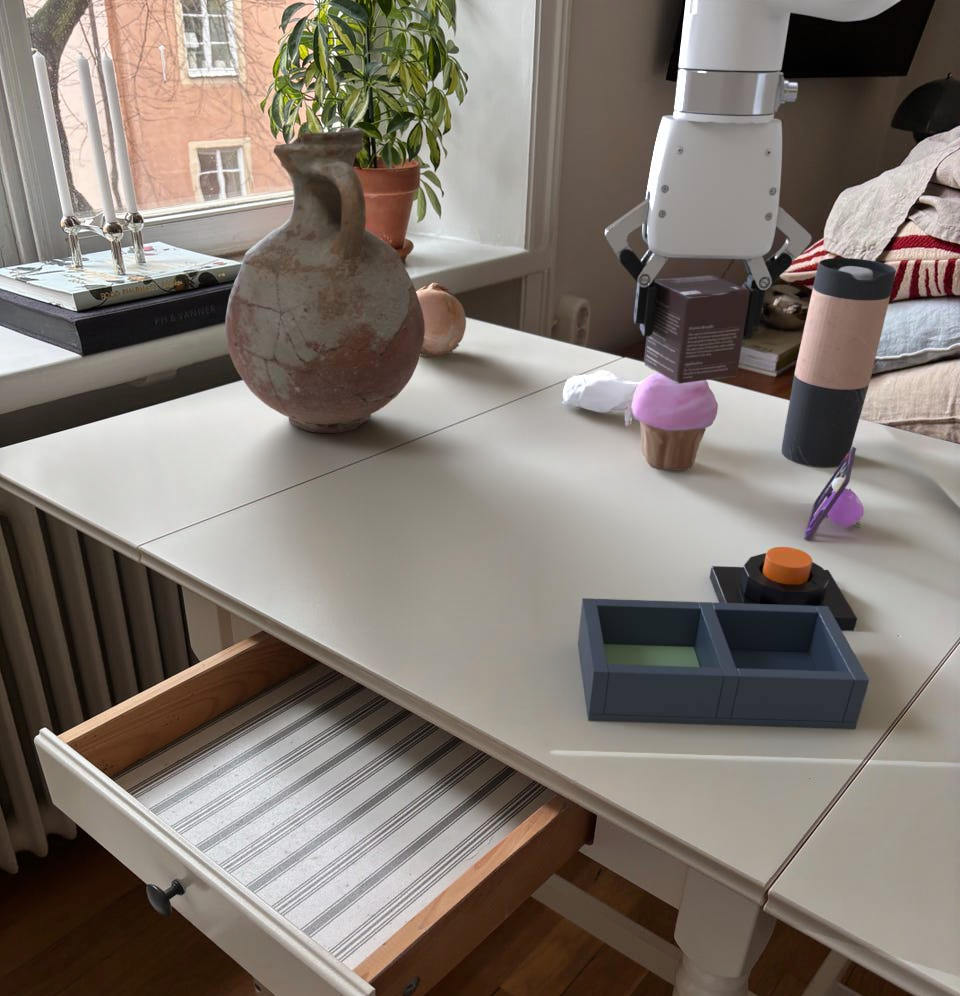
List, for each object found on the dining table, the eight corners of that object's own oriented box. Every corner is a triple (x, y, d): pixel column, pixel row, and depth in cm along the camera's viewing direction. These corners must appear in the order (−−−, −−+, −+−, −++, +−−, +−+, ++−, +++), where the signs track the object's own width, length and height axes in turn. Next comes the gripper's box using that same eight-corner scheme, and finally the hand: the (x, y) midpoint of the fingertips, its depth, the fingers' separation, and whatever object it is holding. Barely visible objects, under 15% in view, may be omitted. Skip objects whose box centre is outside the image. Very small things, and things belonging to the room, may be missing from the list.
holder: (816, 652, 75) (828, 605, 73) (855, 729, 67) (870, 680, 65) (577, 644, 75) (582, 597, 73) (588, 721, 67) (593, 671, 65)
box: (701, 358, 89) (713, 274, 85) (738, 379, 84) (752, 290, 80) (641, 365, 87) (650, 278, 83) (676, 385, 83) (687, 295, 79)
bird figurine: (642, 423, 119) (573, 387, 122) (657, 376, 114) (584, 340, 117) (622, 442, 117) (552, 405, 120) (636, 394, 111) (562, 357, 114)
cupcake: (716, 481, 102) (732, 386, 97) (633, 480, 102) (645, 385, 96) (696, 448, 110) (710, 359, 104) (618, 448, 109) (628, 357, 104)
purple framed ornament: (845, 442, 94) (837, 476, 87) (895, 468, 94) (891, 504, 87) (807, 499, 98) (796, 535, 91) (854, 524, 98) (847, 563, 91)
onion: (433, 366, 141) (443, 294, 140) (474, 364, 134) (485, 289, 133) (378, 351, 135) (388, 276, 134) (418, 348, 128) (429, 269, 127)
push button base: (825, 581, 85) (833, 550, 83) (854, 631, 78) (863, 598, 76) (709, 578, 85) (714, 546, 83) (727, 627, 78) (734, 594, 76)
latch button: (801, 566, 81) (805, 547, 81) (813, 587, 78) (818, 568, 77) (757, 564, 81) (761, 545, 80) (768, 586, 78) (772, 566, 77)
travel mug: (805, 437, 114) (845, 254, 103) (863, 458, 109) (912, 268, 98) (764, 451, 110) (802, 262, 99) (823, 474, 105) (870, 278, 94)
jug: (348, 377, 127) (337, 113, 110) (465, 423, 114) (471, 132, 98) (199, 415, 114) (161, 122, 97) (312, 472, 101) (291, 146, 85)
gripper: (827, 97, 78) (786, 324, 87) (605, 92, 78) (588, 319, 87) (856, 104, 71) (808, 348, 81) (614, 99, 72) (595, 343, 81)
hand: (694, 332), depth 84 cm, fingers closed on box, 7 cm apart
